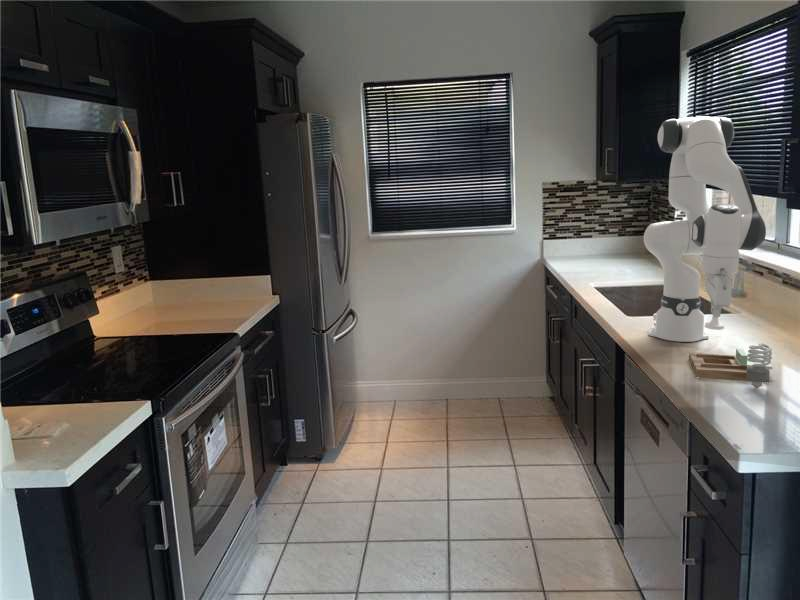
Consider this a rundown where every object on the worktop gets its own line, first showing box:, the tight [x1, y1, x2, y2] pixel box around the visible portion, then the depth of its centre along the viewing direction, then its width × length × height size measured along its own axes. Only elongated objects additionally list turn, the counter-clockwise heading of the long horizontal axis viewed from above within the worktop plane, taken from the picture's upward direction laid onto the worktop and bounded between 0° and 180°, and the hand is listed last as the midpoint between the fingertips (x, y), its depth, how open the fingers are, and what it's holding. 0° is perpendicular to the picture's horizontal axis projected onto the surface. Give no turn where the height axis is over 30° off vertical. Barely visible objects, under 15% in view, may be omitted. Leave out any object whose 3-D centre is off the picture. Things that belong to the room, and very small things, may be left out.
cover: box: [733, 347, 773, 370], centre depth 187 cm, size 8×8×3 cm
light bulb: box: [747, 342, 773, 389], centre depth 174 cm, size 6×6×12 cm
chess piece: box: [704, 306, 725, 331], centre depth 183 cm, size 5×5×10 cm
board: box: [688, 352, 771, 384], centre depth 189 cm, size 16×18×3 cm
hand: (715, 315), depth 183 cm, fingers closed on chess piece
